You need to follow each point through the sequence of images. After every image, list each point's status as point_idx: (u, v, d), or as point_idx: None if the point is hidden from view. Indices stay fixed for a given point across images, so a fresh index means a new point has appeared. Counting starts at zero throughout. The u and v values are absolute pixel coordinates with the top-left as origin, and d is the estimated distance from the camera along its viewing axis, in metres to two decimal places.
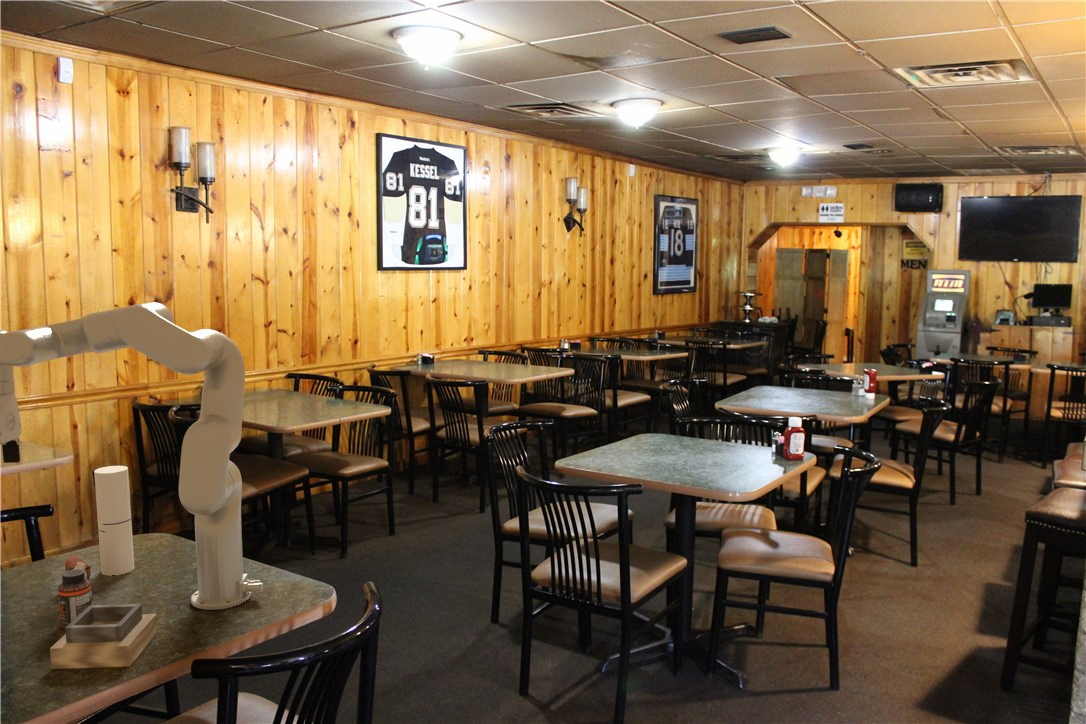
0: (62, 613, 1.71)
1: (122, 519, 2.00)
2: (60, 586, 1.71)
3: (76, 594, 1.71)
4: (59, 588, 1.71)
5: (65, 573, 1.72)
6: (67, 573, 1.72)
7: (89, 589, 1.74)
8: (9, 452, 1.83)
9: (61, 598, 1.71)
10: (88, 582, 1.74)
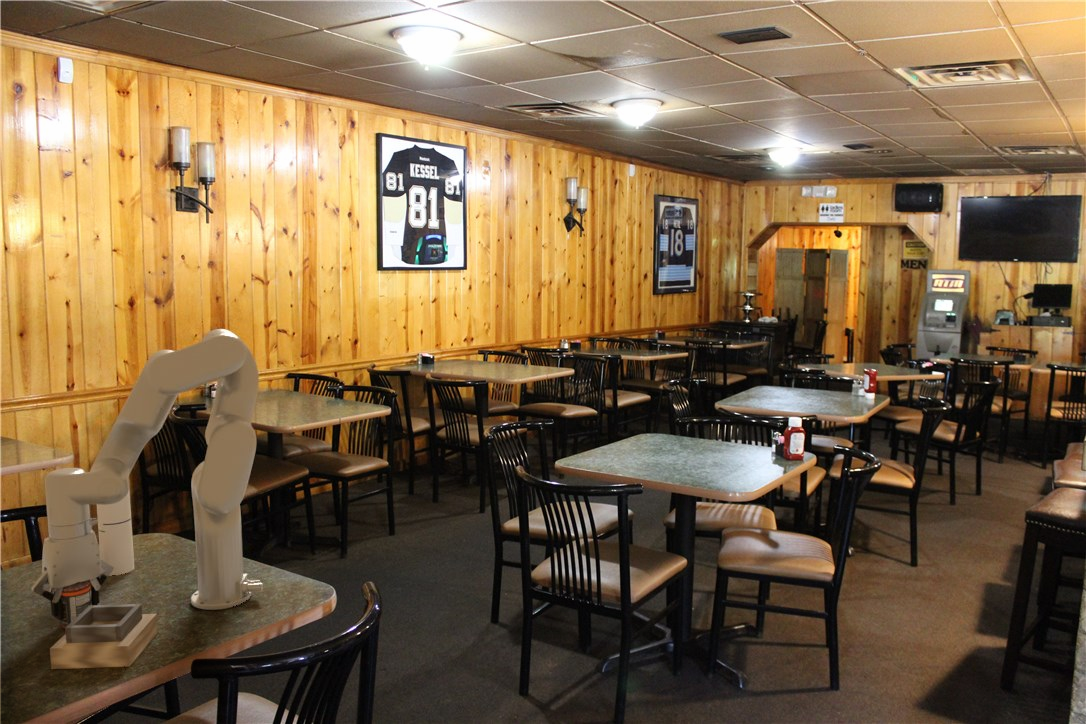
0: None
1: (122, 519, 2.00)
2: None
3: (76, 594, 1.71)
4: None
5: None
6: None
7: (89, 589, 1.74)
8: None
9: (61, 598, 1.71)
10: (88, 582, 1.74)
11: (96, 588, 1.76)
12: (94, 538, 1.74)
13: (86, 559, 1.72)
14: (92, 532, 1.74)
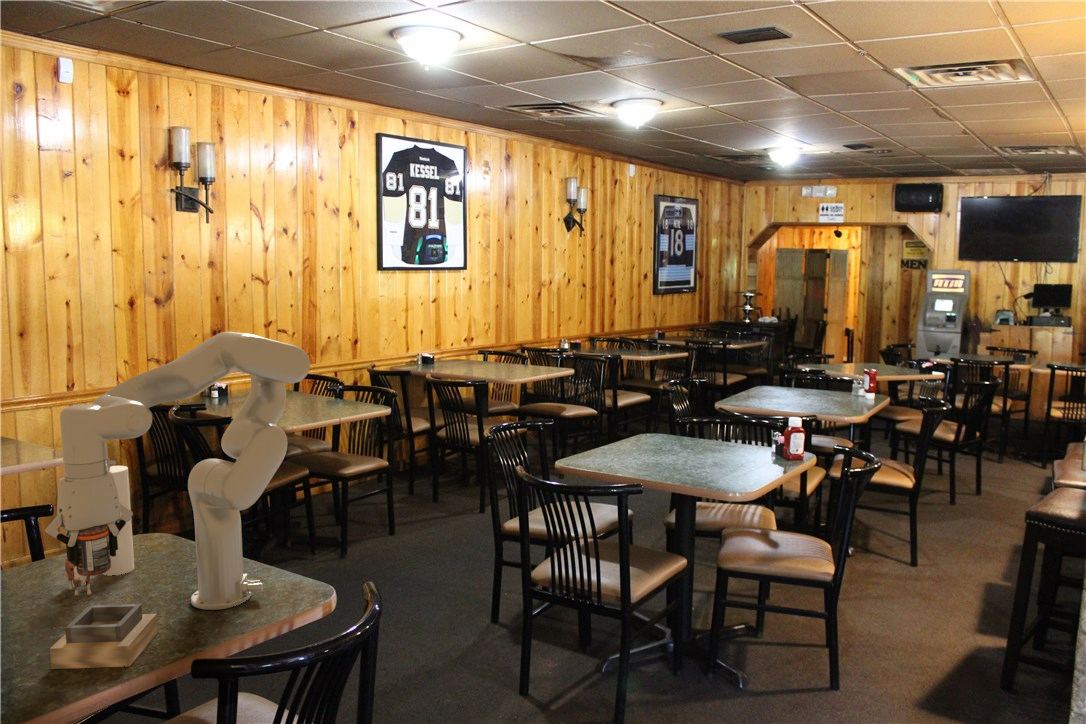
0: None
1: None
2: None
3: (92, 538, 1.61)
4: None
5: None
6: None
7: (106, 534, 1.63)
8: None
9: (76, 542, 1.61)
10: (105, 526, 1.64)
11: (114, 533, 1.65)
12: (112, 479, 1.63)
13: (103, 501, 1.62)
14: (110, 473, 1.64)
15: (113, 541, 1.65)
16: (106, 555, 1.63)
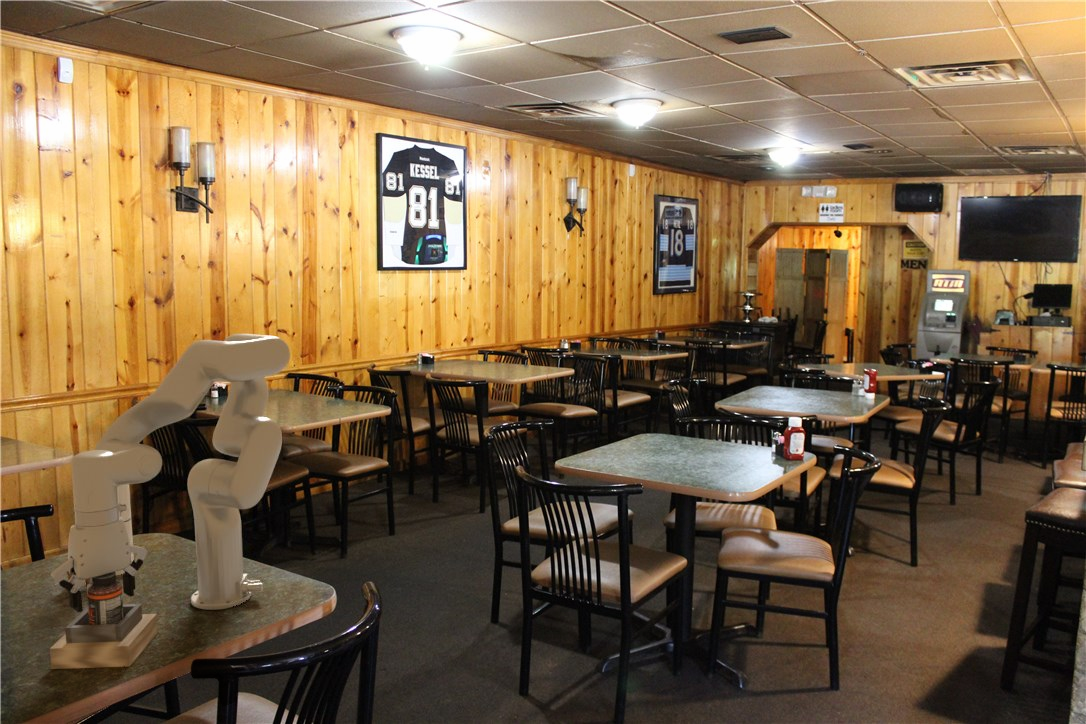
0: (92, 617, 1.60)
1: None
2: (90, 588, 1.60)
3: (107, 597, 1.60)
4: (89, 590, 1.60)
5: None
6: None
7: (120, 592, 1.62)
8: None
9: (90, 601, 1.60)
10: (119, 585, 1.63)
11: (132, 573, 1.65)
12: (123, 526, 1.62)
13: (115, 548, 1.61)
14: (121, 519, 1.62)
15: (131, 581, 1.64)
16: (119, 614, 1.62)
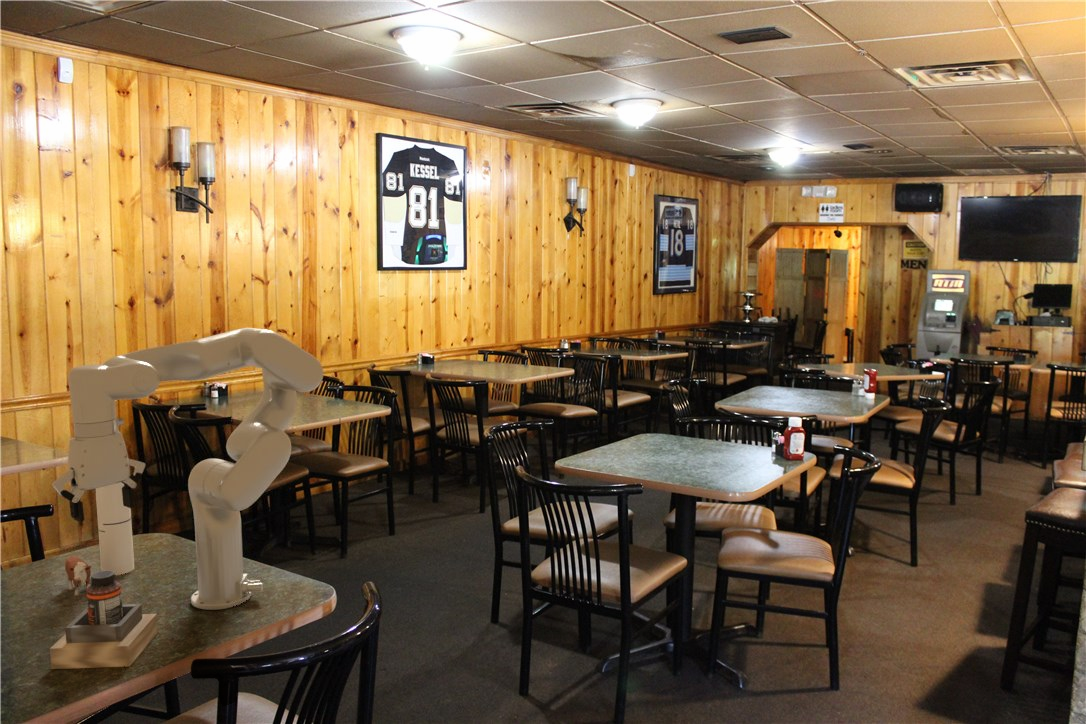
0: (91, 617, 1.60)
1: (122, 519, 2.00)
2: (89, 588, 1.60)
3: (106, 597, 1.60)
4: (88, 591, 1.60)
5: (94, 575, 1.61)
6: (96, 574, 1.61)
7: (119, 592, 1.62)
8: None
9: (89, 601, 1.60)
10: (118, 584, 1.63)
11: (132, 485, 1.69)
12: (121, 438, 1.65)
13: (114, 460, 1.64)
14: (119, 432, 1.66)
15: (131, 493, 1.68)
16: (118, 614, 1.62)
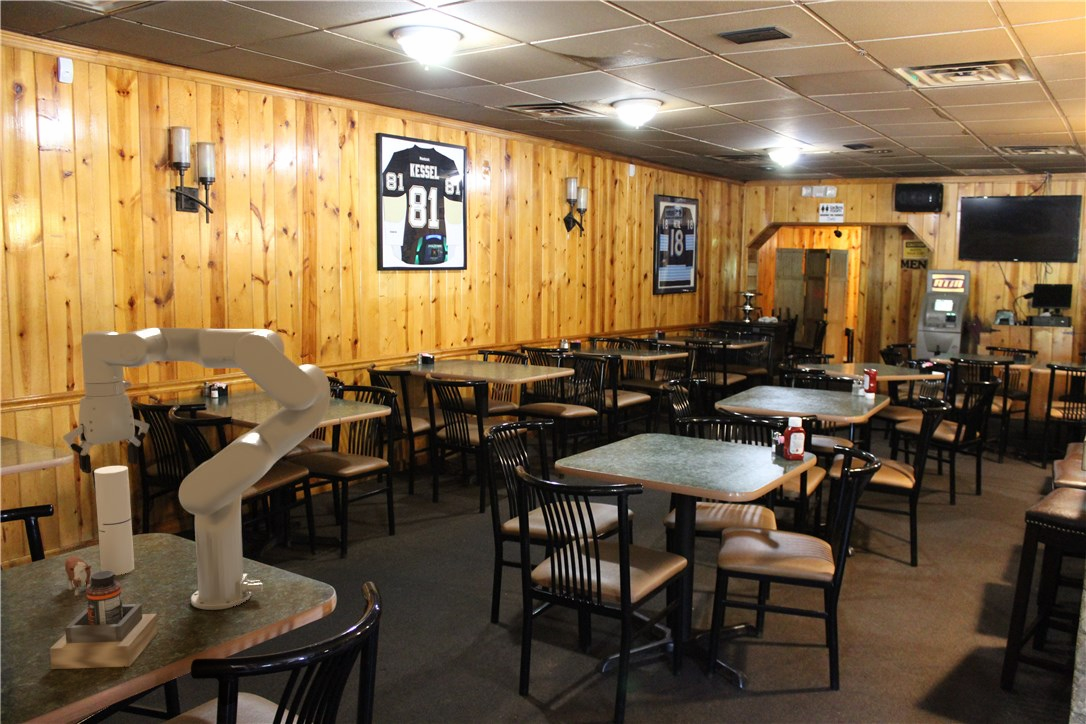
0: (91, 617, 1.60)
1: (122, 519, 2.00)
2: (89, 589, 1.60)
3: (105, 597, 1.60)
4: (88, 591, 1.60)
5: (94, 575, 1.61)
6: (96, 575, 1.61)
7: (119, 592, 1.62)
8: None
9: (89, 601, 1.60)
10: (118, 585, 1.63)
11: (136, 444, 1.84)
12: (128, 399, 1.81)
13: (120, 419, 1.80)
14: (126, 394, 1.82)
15: (135, 450, 1.84)
16: (118, 614, 1.62)
